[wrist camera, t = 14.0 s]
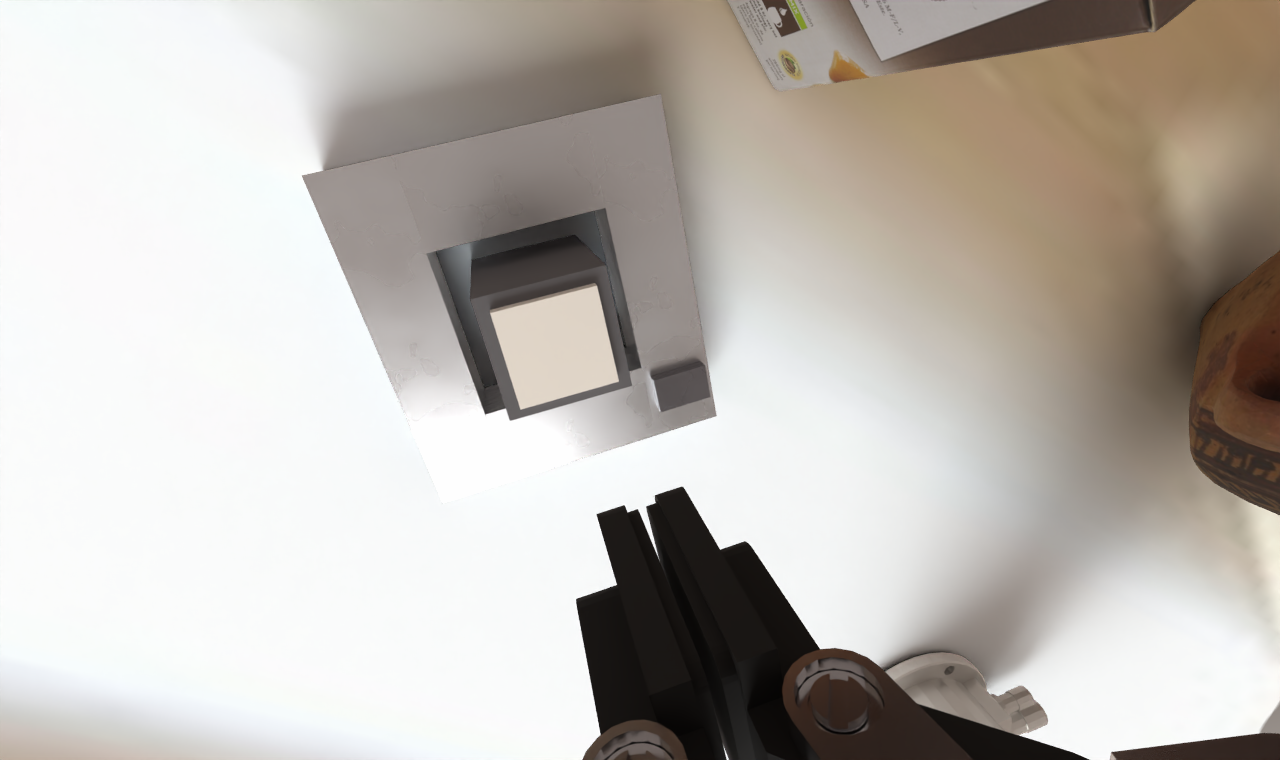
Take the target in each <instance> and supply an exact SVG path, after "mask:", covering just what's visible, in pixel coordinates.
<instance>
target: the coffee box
mask: <svg viewBox="0 0 1280 760" xmlns="http://www.w3.org/2000/svg"><path fill="white" fill-rule="evenodd" d="M727 1H728V3H729V5H730V6H731V8H732V10H733V12H734V14H735V16H736V18H737V20H738V22H739V24H740V26H741V28H742V30H743V31H744V33H745V35H746V37H747V39H748V41H749V43H750V45H751V47H752V49H753V50H754V52H755V54H756V56H757V58H758V60H759V62H760V63H761V65H762V67H763V69H764V71H765V73H766V75H767V76H768V78H769V80H770V82H771V84H772V86H773V87H774V88H775V89H776V90H778V91H787V90H793V89H800V88H807V87H814V86H819V85H826V84H831V83H838V82H841V81H848V80H855V79H862V78H869V77H876V76H881V75H887V74H893V73H900V72H905V71H911V70H917V69H923V68H929V67H935V66H942V65H948V64H953V63H959V62H966V61H973V60H979V59H984V58H990V57H996V56H1002V55H1009V54H1015V53H1021V52H1027V51H1033V50H1039V49H1045V48H1051V47H1058V46H1064V45H1070V44H1076V43H1082V42H1088V41H1094V40H1100V39H1107V38H1113V37H1119V36H1125V35H1131V34H1137V33H1144V32H1156V31H1157V30H1158V29H1160V28H1161V27H1163V26H1164V25H1165V24H1167V23H1168V22H1169V21H1171V20H1172V19H1173V18H1174V17H1176V16H1177V15H1178V14H1180V13H1181V12H1182V11H1183V10H1184V9H1186V8H1187V7H1188V6H1189V5H1190V4H1191V3H1193V2H1194V1H1195V0H727Z"/></svg>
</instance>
